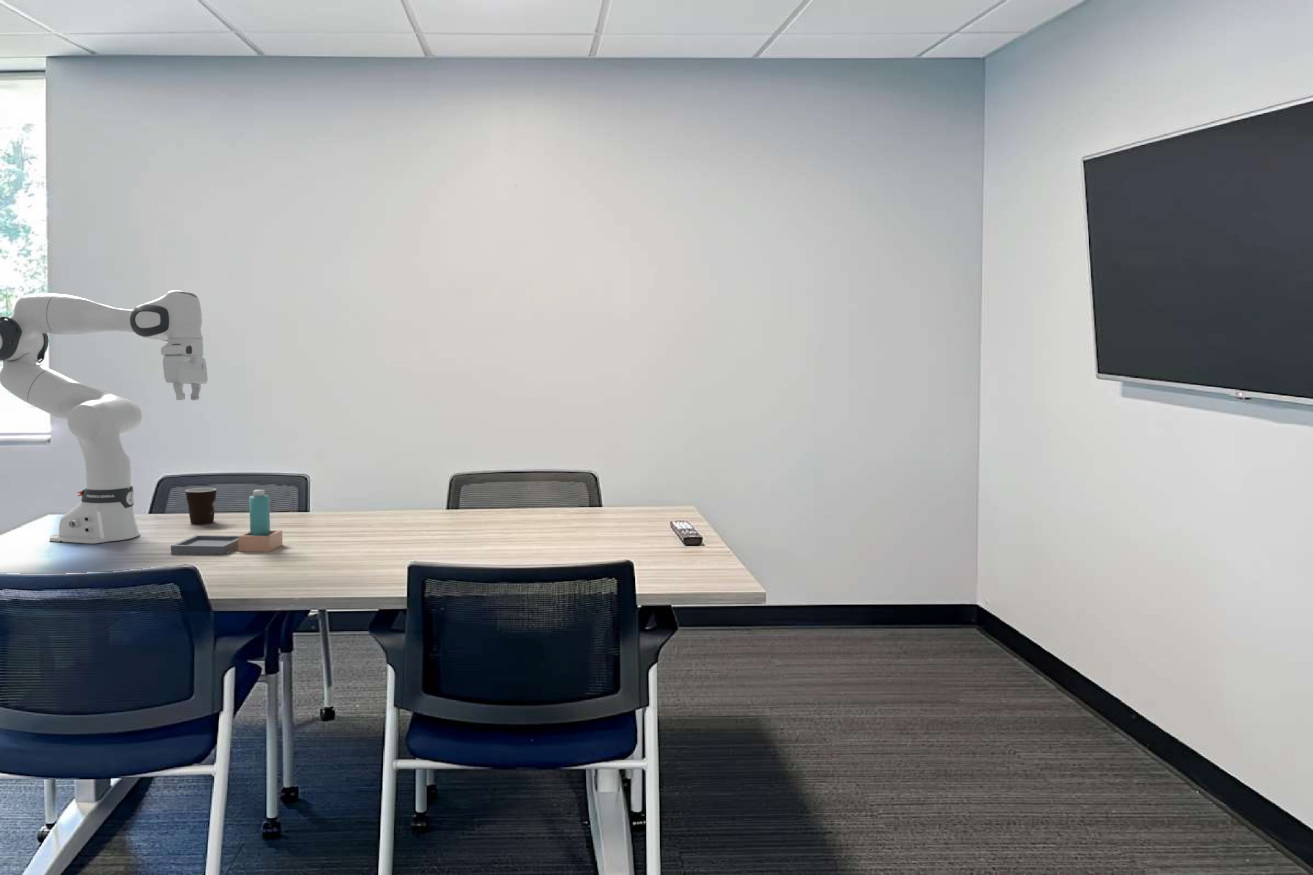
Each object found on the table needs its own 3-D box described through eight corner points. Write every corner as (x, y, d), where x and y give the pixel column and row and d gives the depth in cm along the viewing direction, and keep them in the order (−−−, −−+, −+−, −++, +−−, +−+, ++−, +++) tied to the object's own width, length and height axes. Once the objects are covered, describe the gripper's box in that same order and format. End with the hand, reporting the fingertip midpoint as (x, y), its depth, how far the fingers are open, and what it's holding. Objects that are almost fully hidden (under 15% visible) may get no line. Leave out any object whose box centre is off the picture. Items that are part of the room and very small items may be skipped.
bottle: (247, 549, 282) (245, 491, 280) (255, 545, 286) (253, 488, 285) (266, 549, 281) (264, 492, 280) (273, 546, 286) (271, 489, 285)
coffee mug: (206, 525, 314) (205, 492, 313) (180, 524, 316) (179, 491, 315) (229, 518, 326) (228, 486, 325) (204, 517, 327) (203, 485, 326)
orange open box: (238, 550, 280) (237, 536, 279) (251, 544, 288) (251, 529, 288) (270, 551, 280) (269, 536, 279) (282, 544, 288) (282, 530, 288)
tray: (171, 553, 276) (170, 545, 275) (196, 542, 290) (196, 535, 289) (223, 554, 275) (223, 546, 275) (246, 543, 289) (246, 535, 289)
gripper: (189, 352, 301) (192, 400, 301) (157, 348, 280) (160, 400, 281) (212, 351, 301) (214, 400, 301) (181, 347, 280) (184, 399, 281)
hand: (187, 400), depth 291 cm, fingers open, 8 cm apart
